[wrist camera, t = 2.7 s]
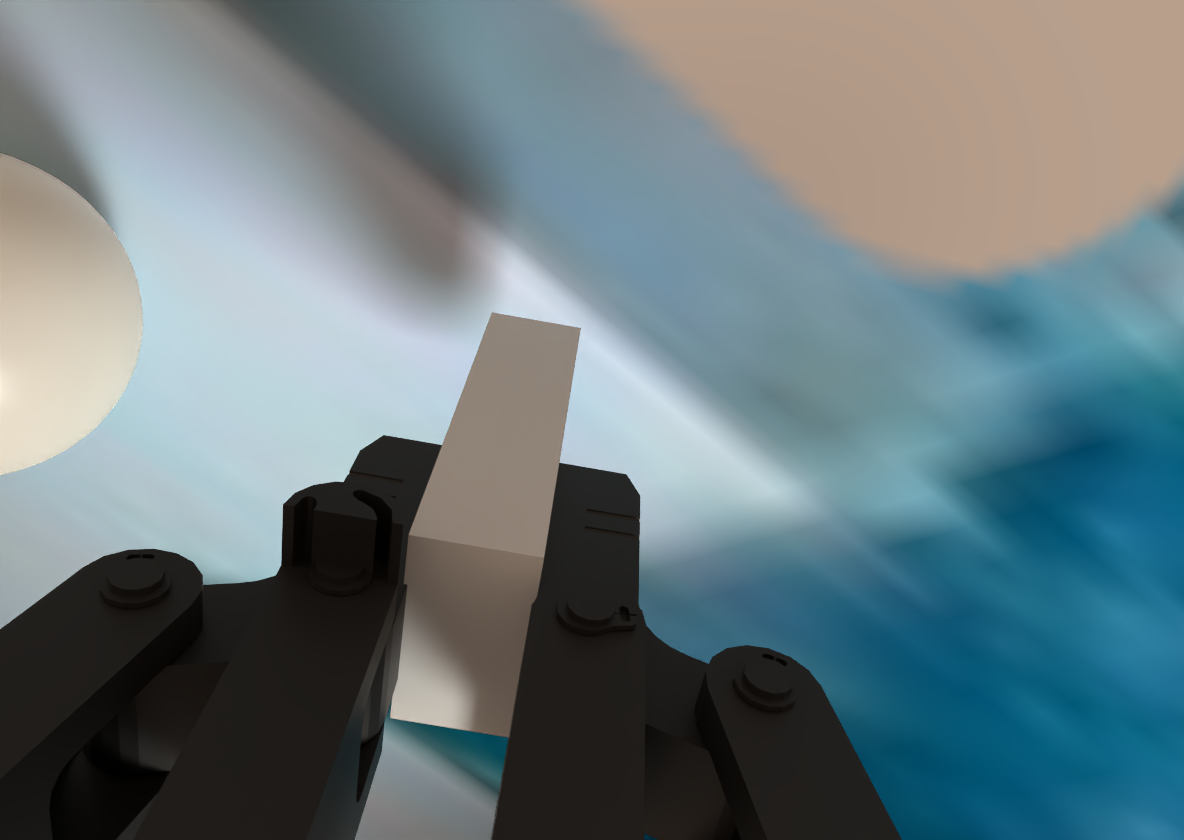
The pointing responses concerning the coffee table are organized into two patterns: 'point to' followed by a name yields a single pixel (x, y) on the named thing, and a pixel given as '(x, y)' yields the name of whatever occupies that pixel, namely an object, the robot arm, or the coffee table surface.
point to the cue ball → (59, 316)
